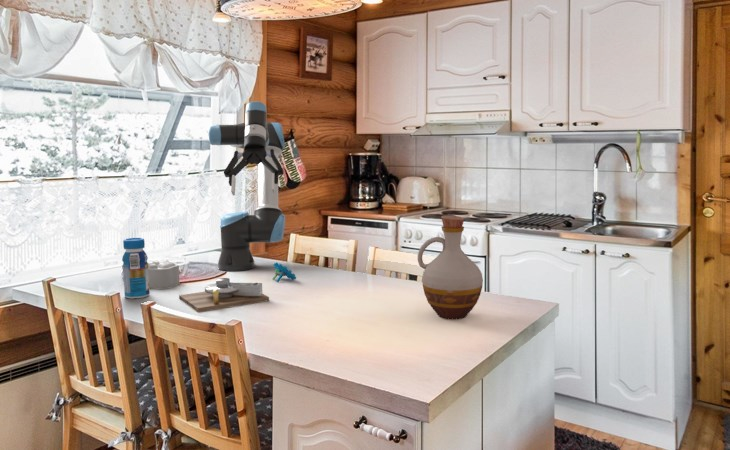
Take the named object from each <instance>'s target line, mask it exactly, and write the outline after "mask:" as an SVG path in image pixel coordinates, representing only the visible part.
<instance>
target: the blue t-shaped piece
mask: <svg viewBox="0 0 730 450" xmlns="http://www.w3.org/2000/svg"><path fill="white" fill-rule="evenodd" d="M273 266H274V269H275V272H274V273H275V275H274V276H273V278H272V280H273V281H275V280H276V282H277V283H280V281H281V280H282V278H283V277H287V278H288V279H289V280H293V281H294V280H296V279H297V277H296V274H295V273H293V271H292V270H291V269H288V267H287V266H285V265H284V266H283V264H281V263H278V262H273ZM276 278H277V279H276Z"/></svg>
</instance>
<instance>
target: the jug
mask: <svg viewBox="0 0 730 450" xmlns="http://www.w3.org/2000/svg"><path fill="white" fill-rule="evenodd" d="M440 218H441V222H442V226H441V231H442V232H443V236H444V238H443V237H442V236H441V237H440V236H435V237H431V238H429V239H427V240H426V241H424V243H423V244H421V247H420V248H419V250H418V252H417V262H418V265H419V267H420V268H422V269H424V270H423V272H422V278H421V282H422V283H421V284H422V288H423V292H424V296H425V298H426V301H427V303H428V304H429V305H430V307H431V309H432V311H434V313H436V315H438V317H439V318H441V319H444V320H451V321H453V320H454V321H455V320H463V319H465V318H466V317H467V316H468V315H469V314H470V313H471V311H472V310H473V309H474V308H475V306H476V305H477V303H478V301H479V298H480V296H481V293H482V289H483V283H484V278H483V274H482V273H483V272H481V270H480V267H479V266H478V265H477V264H476V263H475V262H474V261H473V260H472V259H471V258H469V256H468V255H467V254H466V253H465V252H464V250H462V246H461V244H462V243H461V241H462V234H463V232H464V229H465V226H463V225H464V221H465V217H462V216H457V215H441V217H440ZM433 243H440V244H442V251H441V252H440V253H439V254H438V255H437V256H436V257H435V258H434V259H433V260H431V261H430V262H428V263H424V260H423V254H424V253H425V251H426V249H427V248H428V247H429V246H430V245H431V244H433Z"/></svg>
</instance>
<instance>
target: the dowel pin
mask: <svg viewBox="0 0 730 450" xmlns="http://www.w3.org/2000/svg"><path fill="white" fill-rule="evenodd" d="M213 298H214V304H215V305H217V304H219V294H218V290H213Z"/></svg>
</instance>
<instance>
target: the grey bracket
mask: <svg viewBox="0 0 730 450" xmlns="http://www.w3.org/2000/svg"><path fill="white" fill-rule="evenodd" d="M215 280H216V281H215V282H216V283H211V284H207V285H205V286H204V292H206V293H209V294H213V290H218V294H230V293H233V294H234V295H255V296H260V295H261V294H263V283H262V282H232V281H231V280H230V278H229V277H220V278H216V279H215ZM230 281H231V282H230Z"/></svg>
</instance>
